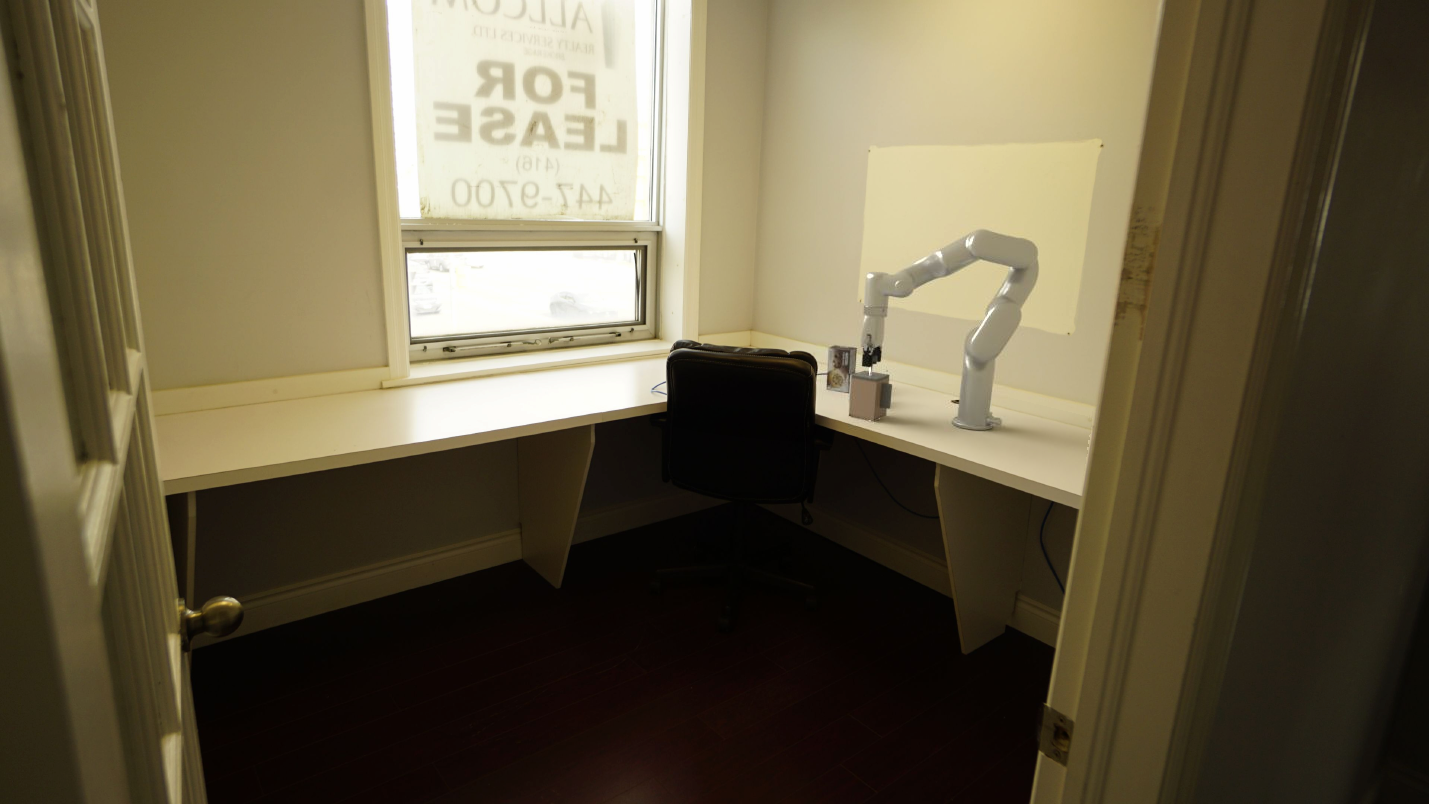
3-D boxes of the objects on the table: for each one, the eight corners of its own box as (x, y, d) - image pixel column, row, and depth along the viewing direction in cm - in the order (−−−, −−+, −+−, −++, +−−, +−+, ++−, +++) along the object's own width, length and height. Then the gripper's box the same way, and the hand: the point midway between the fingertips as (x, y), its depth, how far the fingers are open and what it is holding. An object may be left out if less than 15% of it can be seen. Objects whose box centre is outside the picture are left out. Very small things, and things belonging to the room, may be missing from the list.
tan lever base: (894, 417, 254) (897, 376, 250) (881, 423, 247) (885, 380, 243) (861, 410, 261) (864, 370, 257) (848, 416, 254) (851, 374, 250)
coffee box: (854, 389, 290) (857, 347, 286) (848, 393, 284) (851, 350, 280) (832, 386, 294) (835, 344, 290) (825, 389, 289) (827, 347, 285)
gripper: (872, 307, 255) (868, 358, 259) (855, 313, 240) (851, 367, 245) (894, 309, 251) (890, 360, 256) (878, 315, 237) (874, 370, 241)
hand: (871, 364), depth 250 cm, fingers open, 9 cm apart
